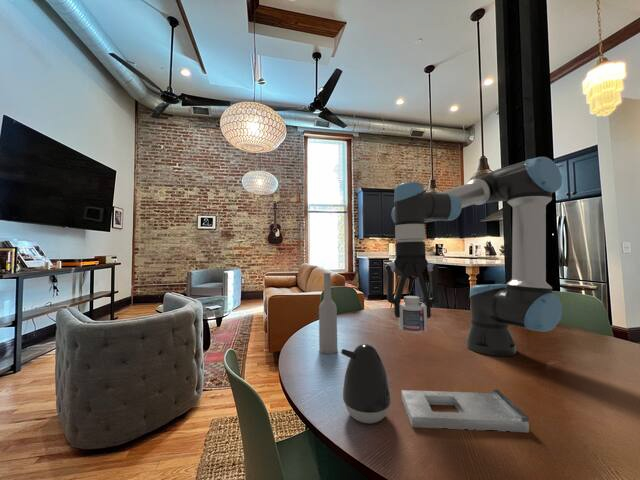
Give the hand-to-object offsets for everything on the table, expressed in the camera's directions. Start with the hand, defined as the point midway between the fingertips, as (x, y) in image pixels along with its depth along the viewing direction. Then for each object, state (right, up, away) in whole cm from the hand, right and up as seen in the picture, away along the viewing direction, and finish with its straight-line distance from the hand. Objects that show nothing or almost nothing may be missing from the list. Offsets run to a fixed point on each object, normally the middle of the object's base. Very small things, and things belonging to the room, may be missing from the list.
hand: (412, 329), depth 73 cm
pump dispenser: (-14, -15, -13) cm, 24 cm away
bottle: (-21, -17, +28) cm, 39 cm away
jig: (+6, -14, -12) cm, 20 cm away
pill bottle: (0, 0, 0) cm, 1 cm away
